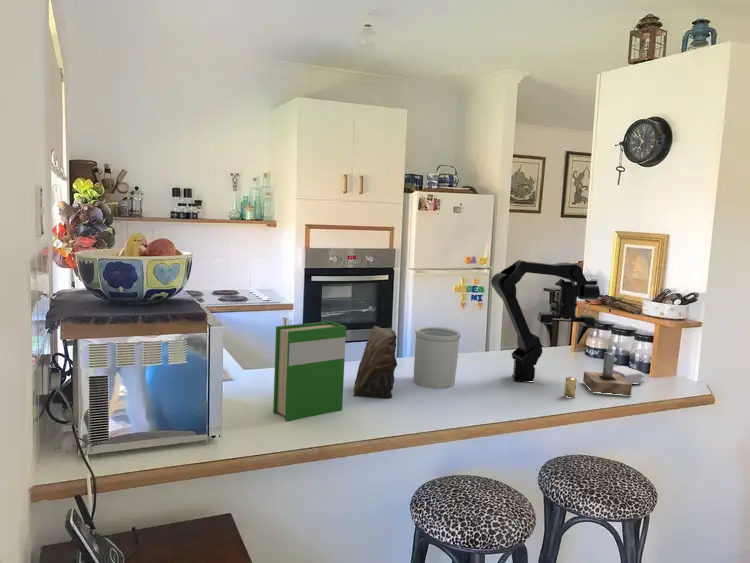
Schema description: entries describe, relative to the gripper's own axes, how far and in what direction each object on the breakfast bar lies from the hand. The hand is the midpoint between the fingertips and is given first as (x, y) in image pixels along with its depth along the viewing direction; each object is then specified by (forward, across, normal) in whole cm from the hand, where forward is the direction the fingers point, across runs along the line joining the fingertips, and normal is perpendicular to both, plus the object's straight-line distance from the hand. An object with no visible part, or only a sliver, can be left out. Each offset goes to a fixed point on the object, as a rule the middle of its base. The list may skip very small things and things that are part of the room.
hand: (563, 343), depth 207 cm
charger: (+14, -24, -4) cm, 28 cm away
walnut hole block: (+13, -13, +9) cm, 20 cm away
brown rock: (+13, +65, +31) cm, 73 cm away
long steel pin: (+13, -13, +9) cm, 20 cm away
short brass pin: (+13, +2, +20) cm, 24 cm away
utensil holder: (+13, +45, +15) cm, 49 cm away
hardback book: (+13, +81, +51) cm, 97 cm away
